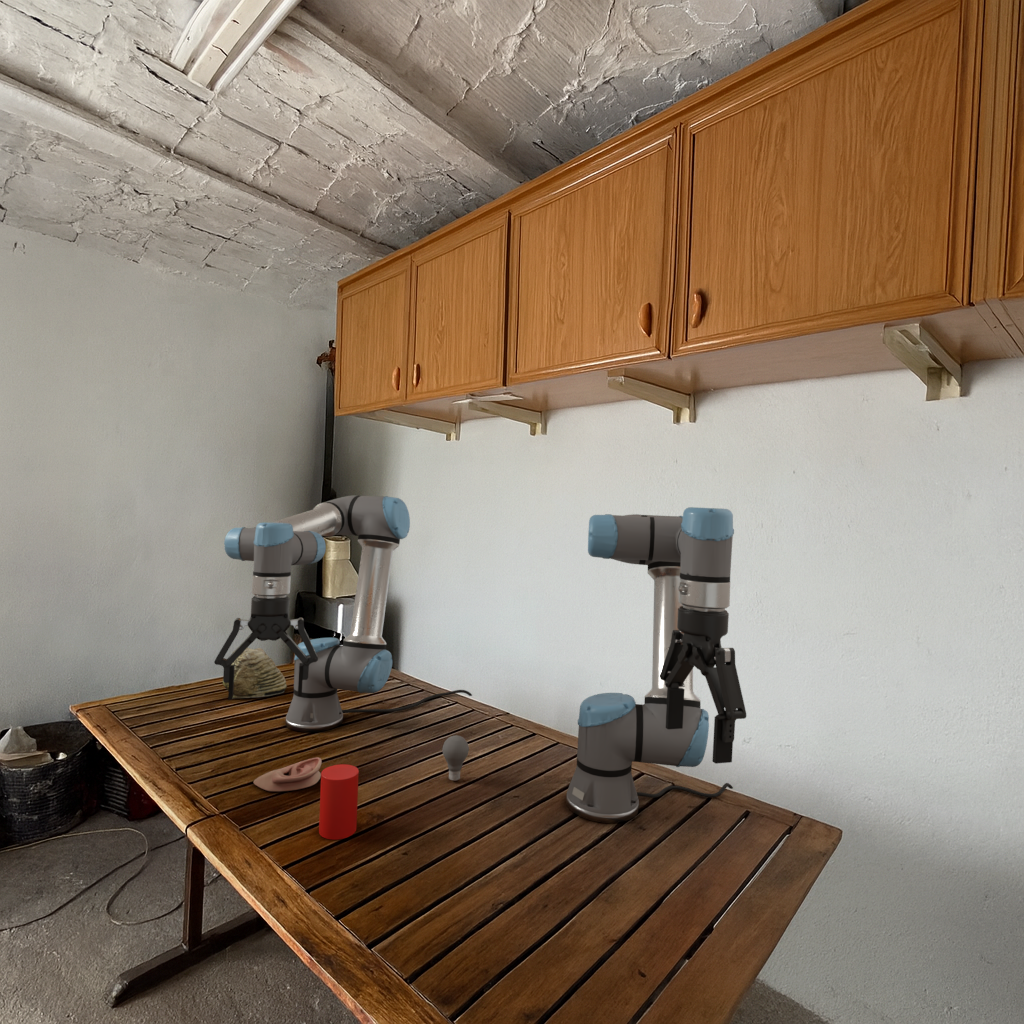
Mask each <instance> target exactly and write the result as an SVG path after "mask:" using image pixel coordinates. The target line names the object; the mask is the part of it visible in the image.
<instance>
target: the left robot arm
mask: <svg viewBox="0 0 1024 1024" xmlns="http://www.w3.org/2000/svg"><path fill="white" fill-rule="evenodd" d="M410 519H411V518H410V512H409V509H408V507H407V504H406V502H404V500H402V499H401V498H400V497H394V496H387V495H385V496H380V495H379V496H378V495H360V494H359V495H358V494H356V495H355V494H354V495H346V496H341V497H338V498H334V499H330V500H327V501H324V502H320V503H318V504H317V505H315V506H314V507H313V508H312V509H310V510H307V511H303V512H301V513H296V514H294V515H290V516H287V517H284V518H281V519H277V520H275V521H271V522H268V521H267V522H259V523H257V524H256V526H253V527H245V526H242V527H233V528H231V529H230V530H229V531H228V532H227V534H226V535H225V537H224V541H223V544H224V551H225V554H226V555H227V556H228V557H229V558H230V559H233V560H238V561H242V562H246V561H247V562H253V571H252V581H251V583H252V584H251V594H253V595H254V596H252V597H251V604H250V617H249V619H244V618H243V619H242V618H241V617H236V618H235V619H234V621H233V626H232V630H231V632H230V634H229V635H228V637H227V638H226V640H225V642H224V644H223V645H222V647H221V648H220V650H219V652H218V654H217V655H216V657H215V659H214V665H216V666H221V667H222V668H223V673H222V674H223V675H222V676H223V677H222V682H223V681H224V683H229V691H228V690H227V691H228V693H227V694H228V695H227V700H228V701H232V700H233V699H234V698H233V691H234V672H235V665H231V664H232V663H233V662H234V661H235V660H236V659H237V658H238V657H239V656H240V655H241V654H242V653H243V652H244V651H245V650H246V648H249V646H251V645H252V644H253V643H254V642H255V641H256V640H259V641H261V642H264V641H273V642H274V641H278V640H279V639H281V641H283V643H284V644H286V646H287V647H288V648H289V649H290V650H291V652H292V653H293V654H294V659H293V660H294V672H293V695H292V696H293V697H292V699H291V702H290V704H289V708H288V711H287V713H286V715H285V726H286V728H287V729H289V730H291V731H294V732H295V731H296V732H301V733H316V732H325V731H329V730H332V729H335V728H337V727H339V726H340V725H342V723H343V722H344V714H353V713H355V714H356V713H358V714H359V713H361V714H362V713H394V712H402V711H406V710H409V709H412V708H415V707H417V706H420V705H421V704H423V703H425V702H426V701H429V700H433V699H435V698H439V697H445V696H450V695H454V694H455V695H456V694H466V695H467V696H469V697H472V696H473V694H472V693H471V691H468V690H465V689H456V690H451V691H446V692H441V693H435V694H432V695H429V696H426V697H423V698H422V699H420V700H419V701H417V702H414V703H411V704H408V705H406V706H402V707H396V708H383V709H382V708H365V709H364V708H363V709H361V708H358V709H357V708H354V709H353V708H352V709H342V706H341V702H340V699H339V695H338V690H341V691H350V692H358V693H359V694H363V693H364V694H376V693H378V692H380V691H381V690H382V689H383V688H384V686H385V685H386V683H387V682H388V680H389V678H390V675H391V671H392V667H393V655H392V653H391V652H390V651H389V650H387V642H386V640H385V639H384V638H383V630H384V624H385V623H384V622H385V615H386V614H385V613H386V607H387V600H388V593H389V585H390V578H391V571H392V570H391V569H392V562H393V555H394V551H395V550H397V548H399V547H400V543H401V540H403V539H406V538H407V536H408V534H409V532H410V527H411V520H410ZM335 535H336V536H337V535H340V536H341V535H343V536H344V535H345V536H355V537H357V543H358V544H359V545H360V547H361V553H360V563H359V568H358V575H357V583H356V588H355V590H356V591H355V595H354V604H353V611H352V619H351V626H350V631H349V632H350V633H349V634H348V635H347V636H346V637H345V638H343V642H342V645H340V644H341V641H340V639H339V638H337V637H320V638H319V637H318V638H313V639H310V637H309V634H308V633H307V631H306V629H305V620H304V618H303V617H298V618H294V619H293V618H292V619H291V618H290V601H291V600H290V597H289V596H288V595H290V594H291V582H292V581H291V578H292V566H301V565H308V566H309V565H311V564H315V563H317V562H319V561H320V560H322V559H323V558H324V556H325V553H326V551H327V550H326V548H327V547H326V546H327V545H326V541H325V538H324V537H333V536H335ZM246 626H247V627H248V629H249V630H250V634H249V635H248V636H247V637H246V638H245V640H243V641H242V643H241V644H239V646H238V647H237V648H236V649H235V650H233V651H232V653H231V654H230V655H229V656H228V657H227V658H225V656H226V654H227V652H228V651H229V650H230V648H231V646H232V645H233V643H234V641H235V639H236V638H237V636H238V634H239V632H240V631H242V630H244V628H245V627H246ZM291 626H293V628H294V629H295V630H298V633H299V636H300V638H301V640H302V642H299V643H298V644H297V643H296V642H295V641H294V639H293V638H292V637H291V636H290V634H289V633H288V632H287V631H288V629H289V628H290V627H291Z"/></svg>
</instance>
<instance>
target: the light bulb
mask: <svg viewBox="0 0 1024 1024" xmlns="http://www.w3.org/2000/svg"><path fill="white" fill-rule="evenodd" d="M469 752H470V746H469V743H468V742H467V740H466V739H465V738H464V737H463V736H461V735H457V734H456V735H455V734H454V735H451V736H449V737H448V738H447V739H446V740H445V741H444V743H443V745H442V755H443V757H444V760H445V761H446V764H447V769H448V779H449V780H450V781H453V782H456V781H458V780H460V779H461V770H462V768H463V764H464V762H465V760H466V759H467V758H468V756H469Z"/></svg>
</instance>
